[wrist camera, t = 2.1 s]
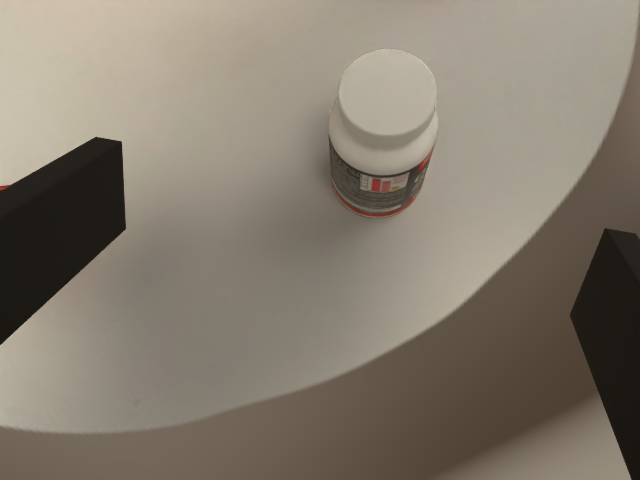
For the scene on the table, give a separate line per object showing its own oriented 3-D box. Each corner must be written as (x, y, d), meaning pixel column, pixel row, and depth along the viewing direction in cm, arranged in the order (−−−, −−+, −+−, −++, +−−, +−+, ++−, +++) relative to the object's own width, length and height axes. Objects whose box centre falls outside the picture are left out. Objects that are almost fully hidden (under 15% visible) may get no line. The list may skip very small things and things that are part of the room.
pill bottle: (428, 215, 35) (459, 140, 26) (336, 225, 35) (333, 154, 26) (414, 132, 37) (438, 32, 27) (326, 142, 37) (320, 46, 27)
